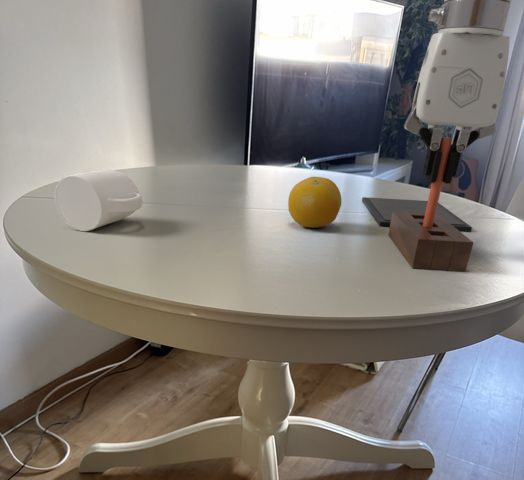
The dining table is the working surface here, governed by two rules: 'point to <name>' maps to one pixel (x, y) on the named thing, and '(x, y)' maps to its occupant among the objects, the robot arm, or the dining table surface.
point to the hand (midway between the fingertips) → (437, 180)
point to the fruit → (314, 202)
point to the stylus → (437, 184)
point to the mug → (96, 198)
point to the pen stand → (429, 242)
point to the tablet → (385, 207)
